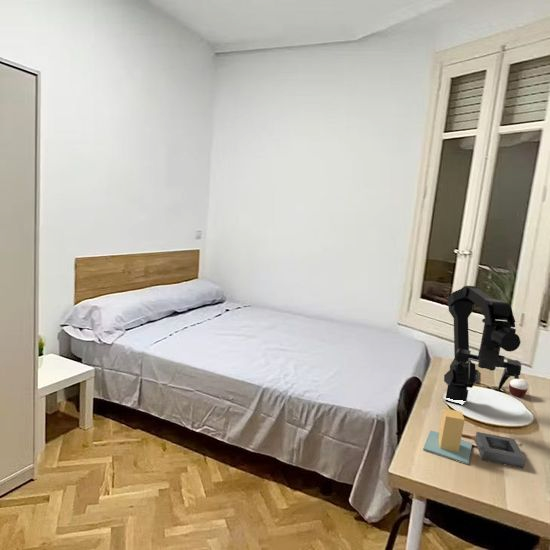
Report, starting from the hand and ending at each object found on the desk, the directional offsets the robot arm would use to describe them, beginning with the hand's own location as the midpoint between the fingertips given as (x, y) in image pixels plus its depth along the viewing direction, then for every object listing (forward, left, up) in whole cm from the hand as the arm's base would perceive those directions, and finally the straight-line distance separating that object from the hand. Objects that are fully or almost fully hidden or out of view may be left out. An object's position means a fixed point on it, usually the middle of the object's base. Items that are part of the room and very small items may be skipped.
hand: (482, 386), depth 144 cm
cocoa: (+12, +36, -13) cm, 40 cm away
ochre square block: (-6, -21, -12) cm, 26 cm away
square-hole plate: (+7, -16, -13) cm, 22 cm away
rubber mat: (-6, -21, -13) cm, 26 cm away
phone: (-6, +44, -14) cm, 46 cm away
